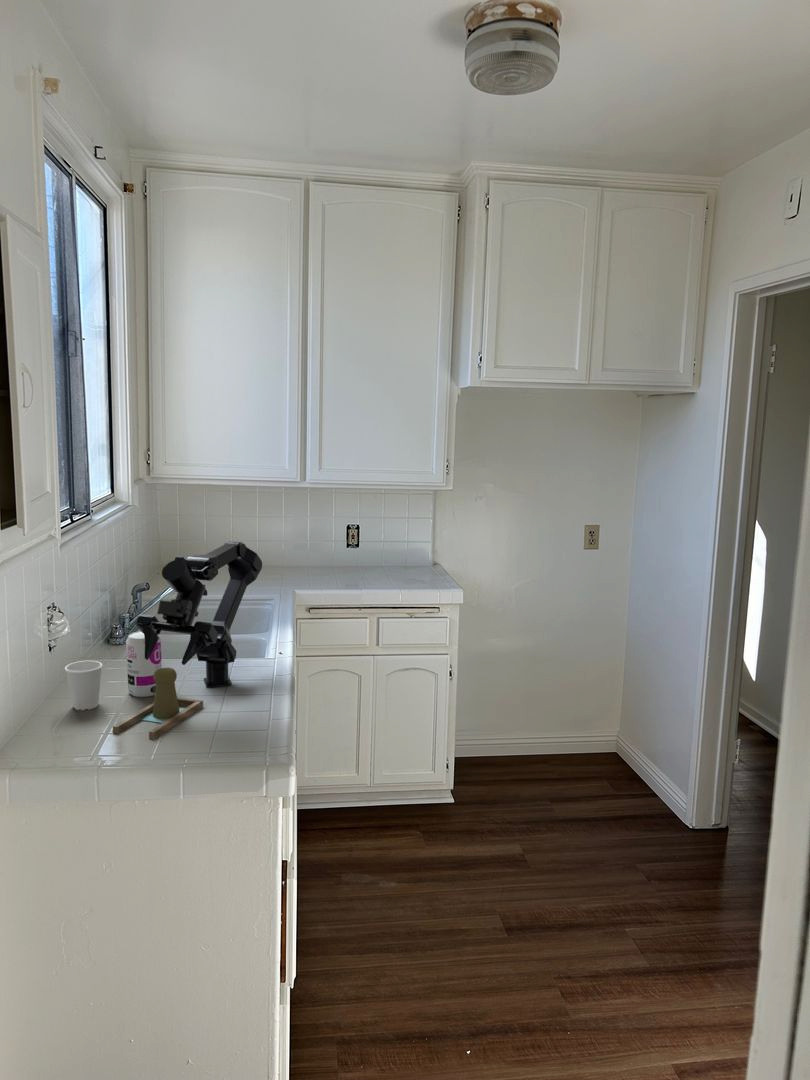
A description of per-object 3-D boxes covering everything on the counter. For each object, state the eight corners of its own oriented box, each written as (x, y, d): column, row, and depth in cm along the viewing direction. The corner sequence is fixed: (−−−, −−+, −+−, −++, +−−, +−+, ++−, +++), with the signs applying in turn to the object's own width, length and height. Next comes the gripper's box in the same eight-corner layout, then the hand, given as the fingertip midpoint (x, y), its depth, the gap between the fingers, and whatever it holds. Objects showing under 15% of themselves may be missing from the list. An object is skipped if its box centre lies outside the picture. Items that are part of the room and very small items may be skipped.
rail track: (165, 701, 196) (165, 695, 196) (203, 706, 193) (202, 700, 193) (113, 732, 177) (112, 726, 177) (153, 738, 174) (153, 732, 174)
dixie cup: (90, 697, 198) (88, 658, 196) (111, 704, 194) (109, 664, 192) (59, 707, 191) (57, 667, 190) (81, 714, 187) (78, 673, 185)
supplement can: (168, 688, 205) (166, 631, 202) (150, 699, 197) (148, 640, 194) (141, 685, 207) (138, 628, 204) (121, 695, 199) (119, 637, 197)
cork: (169, 707, 191) (168, 663, 190) (185, 713, 188) (183, 668, 186) (147, 714, 187) (145, 669, 185) (162, 721, 183) (161, 675, 181)
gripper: (138, 581, 187) (113, 640, 179) (212, 589, 183) (190, 651, 175) (156, 604, 196) (132, 662, 188) (227, 613, 193) (206, 672, 184)
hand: (164, 661), depth 184 cm, fingers open, 9 cm apart
